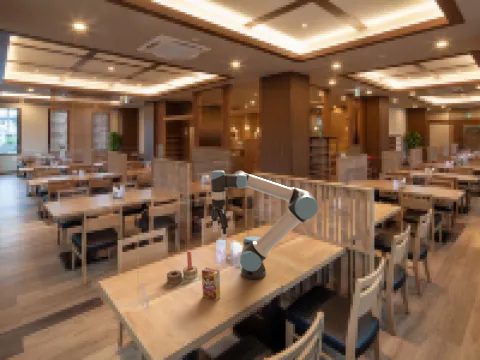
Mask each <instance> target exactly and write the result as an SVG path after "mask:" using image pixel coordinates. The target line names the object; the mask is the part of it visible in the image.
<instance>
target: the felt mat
mask: <svg viewBox="0 0 480 360" xmlns="http://www.w3.org/2000/svg"><path fill="white" fill-rule="evenodd" d="M165 280H166V281H167V278H165ZM195 281H200V277H199V276H198V277H196V278H195V279H192V280H186V279H184V277H183V274H182V282H181V283H180V284H179V285H182V284H187V283H191V282H195ZM167 284H168V283H167ZM174 286H175V285H169V284H168V287H174Z"/></svg>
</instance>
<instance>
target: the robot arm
mask: <svg viewBox="0 0 480 360" xmlns="http://www.w3.org/2000/svg"><path fill="white" fill-rule="evenodd" d="M210 173H211V174H210V185H211V188H210V189H211V192H210V195H211V206H212V209H211V210H212V211H211V217H210V219H211V220H212V232H213V233H218V232H219V225H218V224H219V223H220V225H221V227H220V235H221V240H222V241H224V240H227V239H228V235H227V229H228V228H229V225H228V218H227V213H226V212H227V210H226V209H225V208H224V207H225V206H226V189H245V188H248V189H251V190H255V191H258V192H260V193H263V194H266V195H269V196H271V197H275V198H277V199H278V198H279V200H283V201H286V202H287V203H288V204H290V205H288V206H287V211H286V212H285V213H284V214H283V215H282V216H281V217H280V218H279V219H278V220H277V221H276V222H275V223H274V224H273V225H271V227H270V228H268V230H267V231H266V232H265V233H264V234H262V236H261V237H260V236H254V235H253V236H252V235H251V236H246V237H244V238H243V241H242V243H243V248H242V249H241V250H242V251H241V254H240V257H239V263H240V266H241V269H240V274H241V276H242V277H243V278H245V279H248V280H259V279H262V278H264V277H265V276H266V274H267V272H266V271H267V270H266V266H265V263H264V261H265V260H266V259H267V258H268V256H269V252H270V251H271V250H272V249H274V247H276V245H278V243H280V242H281V241H282V240H283V239H284V238H285V237H286V236H287V235H288V234H289V233H290V232H291V231H292V230H294V228H295V227H297V226H298V225H299V224H304V223H305V222H306V221H307V220H310V219H312V218H314V217H315V216H316V214H317V213H318V209H319V205H318V201H317V199H316V198H315V196H314V195H313V194H312V193H311V192H310V191H307V190H304V189H301V188H298V187H294V186H292V187H287V186H285V185H282V184H280V183H276V182H273V181H271V180H268V179H264V178H262V177H258V176H256V175H253V174H249V173H246V172H245V171H243V170H237V171H235V172H234V173H232V174H231V173H230V174H228V173H227V174H226V172H225V171H224V170H223V169H222V170H220V169H219V170H213V171H211V172H210ZM218 219H219V223H218Z"/></svg>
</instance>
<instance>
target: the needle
mask: <svg viewBox="0 0 480 360" xmlns="http://www.w3.org/2000/svg"><path fill="white" fill-rule="evenodd" d="M186 258H187V260H186V261H187V262H186V263H187V266H188V270H192V266H193V256H192V250H187V251H186Z"/></svg>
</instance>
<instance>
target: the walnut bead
mask: <svg viewBox="0 0 480 360" xmlns="http://www.w3.org/2000/svg"><path fill="white" fill-rule="evenodd" d="M182 275H183V272H182V271H181V270H170V271H169V272H167V273H166V279H167V280H166V282H167V284H169V285H174V286H178V285H181V284H180V283H181V282H182ZM169 285H168V286H169Z"/></svg>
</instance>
